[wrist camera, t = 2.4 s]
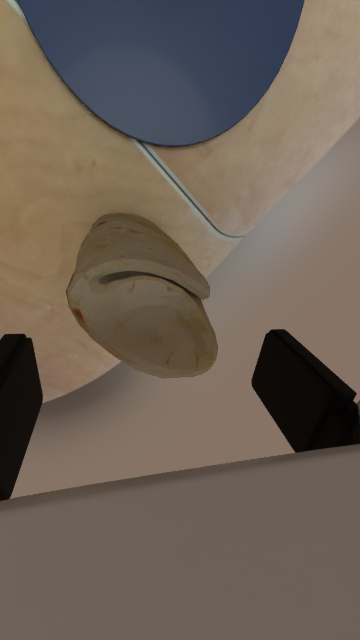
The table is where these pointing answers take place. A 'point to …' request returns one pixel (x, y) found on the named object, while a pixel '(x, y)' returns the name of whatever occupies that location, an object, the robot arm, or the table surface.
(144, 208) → the table surface
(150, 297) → the food model
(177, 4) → the pot lid
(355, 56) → the table surface
